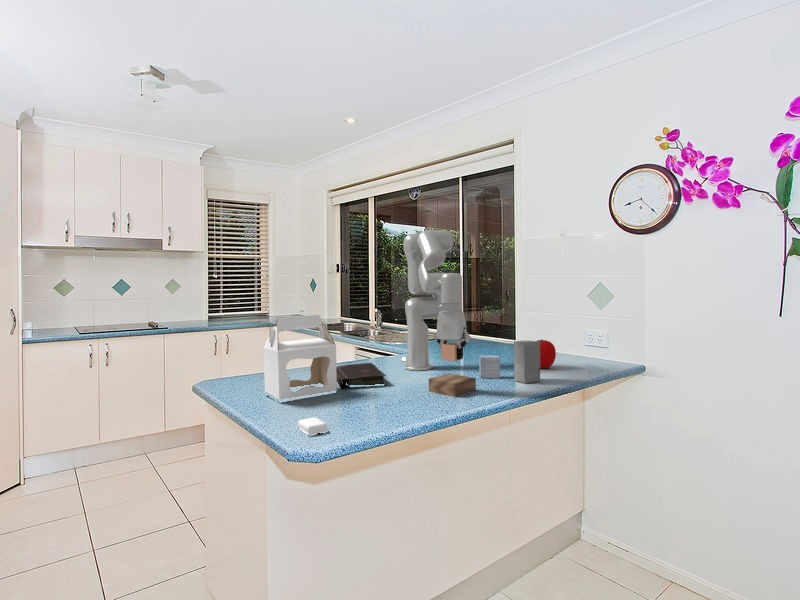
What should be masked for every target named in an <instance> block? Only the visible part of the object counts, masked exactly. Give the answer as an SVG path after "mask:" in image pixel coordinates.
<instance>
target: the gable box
mask: <svg viewBox="0 0 800 600" xmlns="http://www.w3.org/2000/svg"><path fill="white" fill-rule="evenodd" d="M275 323H276V326H273V327H270V328H269V336H268V337H267V339H266V341H265V344H264V346H263V370H264V371H263V372H264V373H263V374H264V376H263V378H264V379H263V380H264V393H265V392H267V393H269V394H271V395H273V396H274V397H276V398H278V399H285V398H292V397H298V396H305V395H312V394H317V393H323V392H331V391H337V392H338V384H337V372H336V367H337V344H336V343H335V341H334V339H333V338H332V335H331V334H330V332H329V330H328V323H327V322H322V318H321V316H320V315H319V314H315V315H312V314H311V315H302V316H301V315H299V316H289V317H288V316H286V317H285V316H284V317H278V318H277V319H276V320H275ZM307 329H309V330H310V329H318V330H319V331H318V334H319V335H318V337H317V338H309V339H308V338H307V339H299V340H298V339H295V340H287V341H279V333H280V332H284V331H295V330H307ZM297 359H300V360H301V359H303V360H309V359H310V360H312V362H311V365H310V369H309V370H310V378H309V379H307V380H302V379H292V380H290V376H289V373H288V371H287V365H288V363H289V362H290V361H293V360H297ZM318 383H321V384H323V385H325V386H323V387H315V386H309V387H305V388H302V389H300V390H298V391H296V392H292V391H290V387H297V386H304V385H311V384H318Z"/></svg>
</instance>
